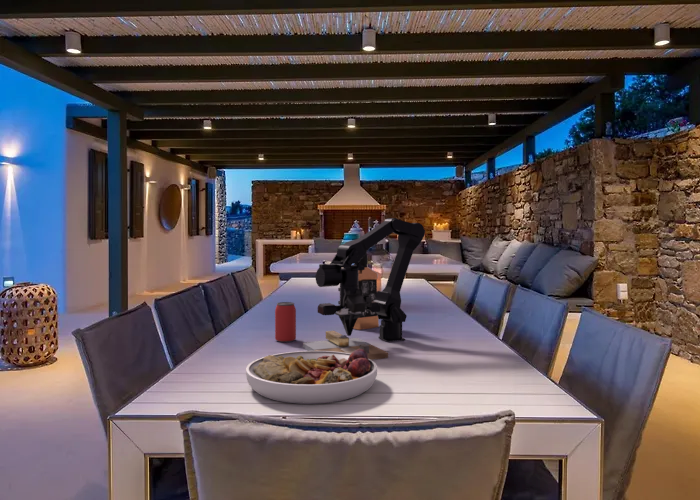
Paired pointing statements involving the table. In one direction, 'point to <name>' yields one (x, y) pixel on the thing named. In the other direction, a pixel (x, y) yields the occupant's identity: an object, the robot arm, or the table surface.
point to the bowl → (312, 376)
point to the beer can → (285, 322)
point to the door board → (370, 349)
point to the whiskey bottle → (367, 287)
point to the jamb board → (331, 344)
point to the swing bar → (337, 338)
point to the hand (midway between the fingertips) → (348, 335)
